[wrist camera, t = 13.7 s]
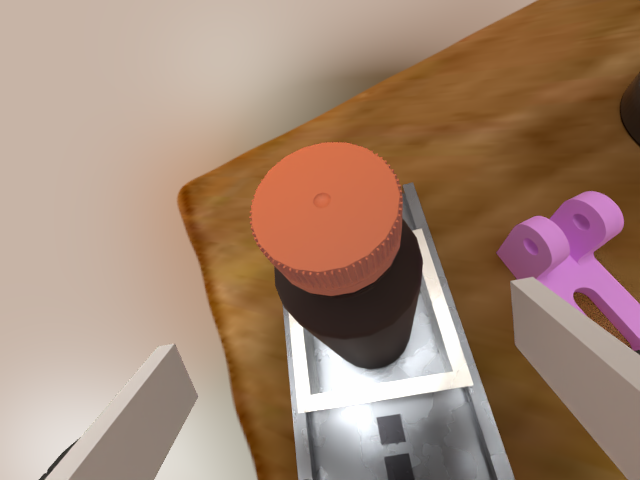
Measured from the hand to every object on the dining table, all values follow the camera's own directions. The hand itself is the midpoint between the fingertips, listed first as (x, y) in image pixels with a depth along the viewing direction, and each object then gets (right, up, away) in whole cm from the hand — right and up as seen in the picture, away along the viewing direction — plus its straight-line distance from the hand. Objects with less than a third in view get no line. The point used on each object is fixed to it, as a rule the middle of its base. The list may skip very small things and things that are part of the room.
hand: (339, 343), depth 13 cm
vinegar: (+4, -4, +15) cm, 16 cm away
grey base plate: (+4, -4, +16) cm, 17 cm away
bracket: (+20, -1, +14) cm, 25 cm away
